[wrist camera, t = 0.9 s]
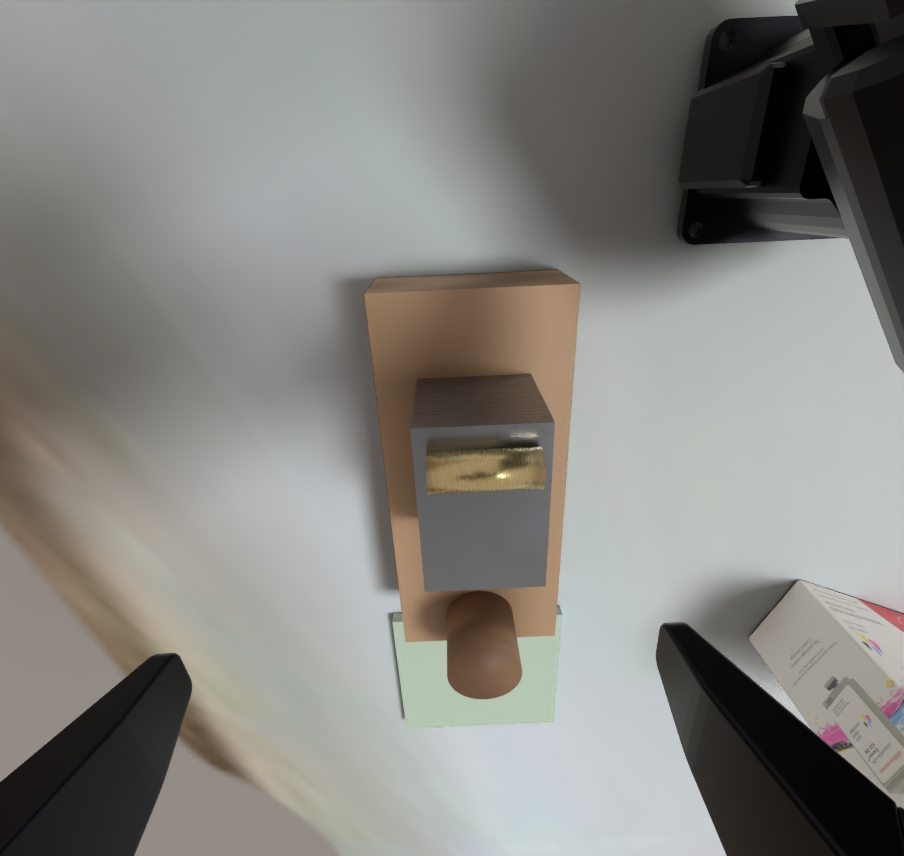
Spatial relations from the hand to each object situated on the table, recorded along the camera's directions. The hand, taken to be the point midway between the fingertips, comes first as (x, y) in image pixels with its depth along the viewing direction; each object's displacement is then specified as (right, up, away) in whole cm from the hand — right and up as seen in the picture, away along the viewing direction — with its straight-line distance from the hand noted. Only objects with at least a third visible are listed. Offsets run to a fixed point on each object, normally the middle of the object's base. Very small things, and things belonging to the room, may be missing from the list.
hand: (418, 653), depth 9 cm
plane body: (+2, +3, +13) cm, 13 cm away
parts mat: (+2, -10, +19) cm, 22 cm away
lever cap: (+2, +3, +9) cm, 10 cm away
